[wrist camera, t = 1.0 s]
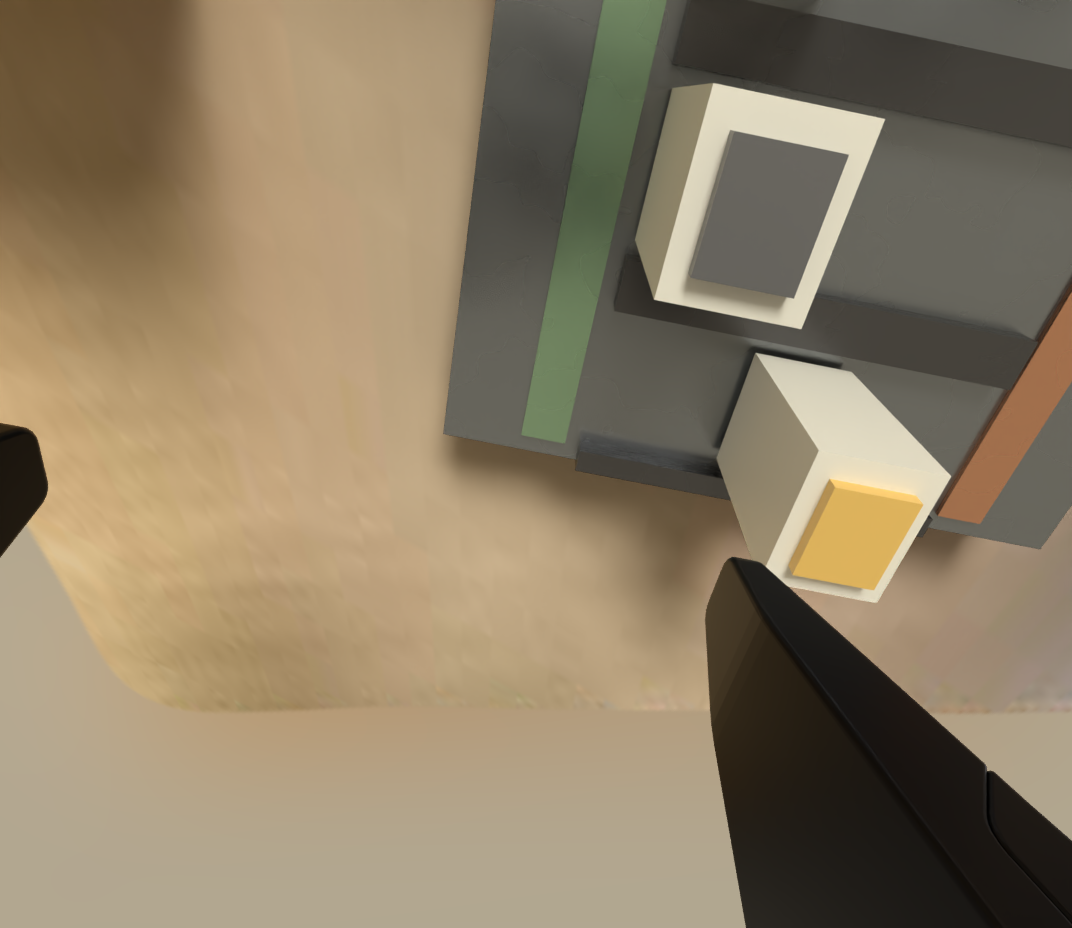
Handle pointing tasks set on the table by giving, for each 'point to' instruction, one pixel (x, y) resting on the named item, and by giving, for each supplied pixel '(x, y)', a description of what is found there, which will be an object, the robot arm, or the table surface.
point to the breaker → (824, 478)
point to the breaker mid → (749, 200)
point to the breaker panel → (851, 273)
